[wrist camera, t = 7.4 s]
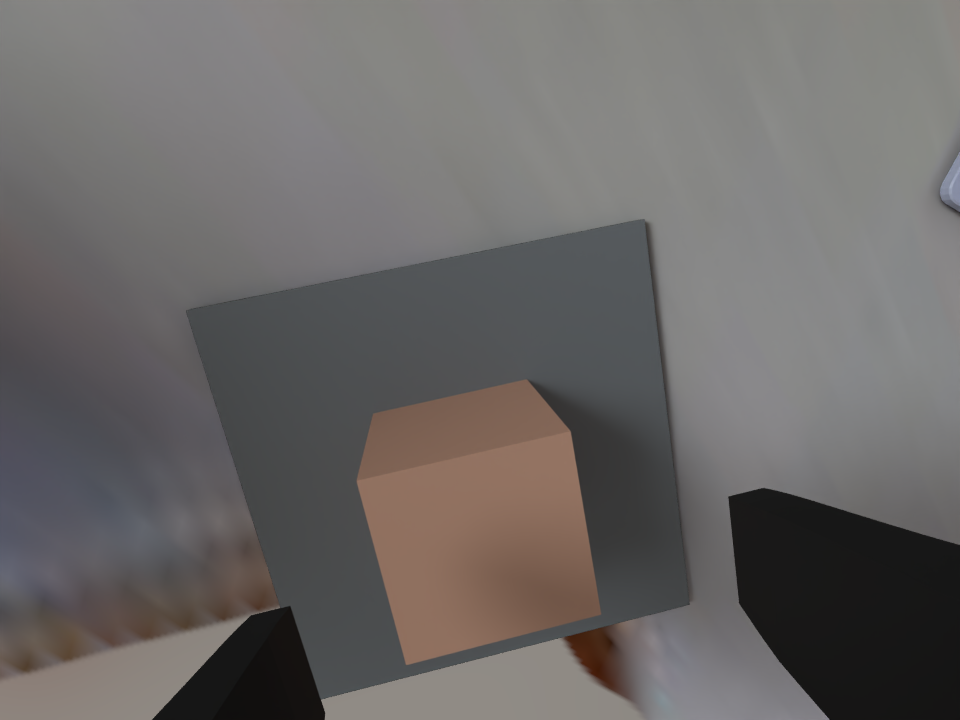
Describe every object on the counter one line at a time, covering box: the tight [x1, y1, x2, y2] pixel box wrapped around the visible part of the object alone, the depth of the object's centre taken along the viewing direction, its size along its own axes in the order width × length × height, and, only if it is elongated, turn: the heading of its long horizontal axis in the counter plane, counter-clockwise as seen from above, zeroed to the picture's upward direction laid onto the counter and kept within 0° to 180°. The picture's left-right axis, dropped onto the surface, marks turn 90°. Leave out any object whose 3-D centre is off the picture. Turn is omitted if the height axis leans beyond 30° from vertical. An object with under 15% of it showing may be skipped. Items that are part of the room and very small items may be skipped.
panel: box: [186, 219, 690, 699], centre depth 18 cm, size 14×14×1 cm
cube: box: [357, 379, 601, 665], centre depth 15 cm, size 5×5×5 cm
